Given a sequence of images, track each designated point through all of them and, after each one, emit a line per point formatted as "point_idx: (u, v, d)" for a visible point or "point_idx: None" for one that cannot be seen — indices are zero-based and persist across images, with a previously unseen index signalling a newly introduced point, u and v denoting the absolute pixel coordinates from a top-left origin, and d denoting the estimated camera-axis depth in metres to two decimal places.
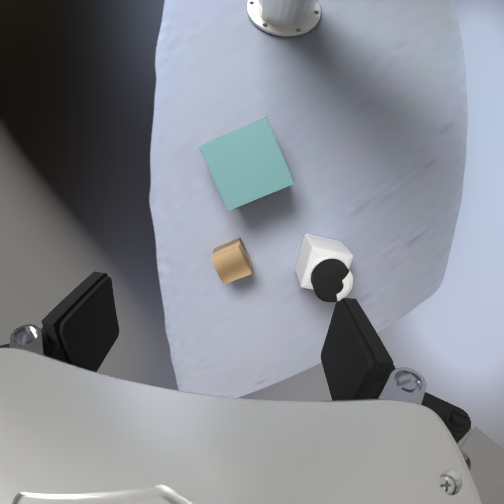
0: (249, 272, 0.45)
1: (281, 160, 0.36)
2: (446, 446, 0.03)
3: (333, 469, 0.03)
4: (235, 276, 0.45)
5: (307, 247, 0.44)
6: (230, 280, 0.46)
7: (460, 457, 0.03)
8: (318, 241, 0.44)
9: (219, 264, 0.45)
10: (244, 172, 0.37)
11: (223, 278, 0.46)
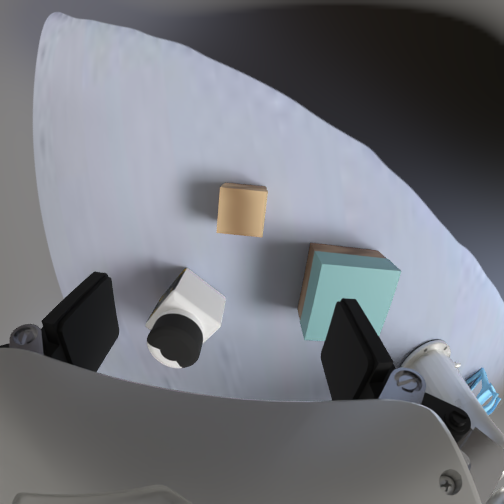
0: (220, 231, 0.30)
1: None
2: (446, 446, 0.03)
3: (333, 469, 0.03)
4: (224, 210, 0.29)
5: (217, 309, 0.34)
6: (221, 200, 0.29)
7: (460, 457, 0.03)
8: None
9: (253, 199, 0.29)
10: None
11: (230, 192, 0.29)
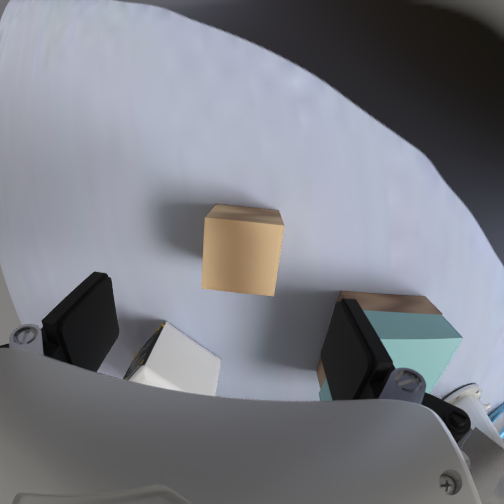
0: (207, 286, 0.19)
1: None
2: (446, 446, 0.03)
3: (333, 469, 0.03)
4: (212, 254, 0.18)
5: (207, 383, 0.23)
6: (207, 238, 0.18)
7: (460, 457, 0.03)
8: None
9: (259, 237, 0.18)
10: None
11: (222, 226, 0.17)
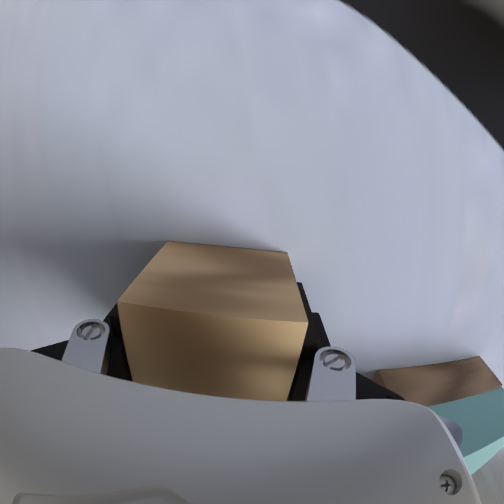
0: None
1: None
2: (446, 446, 0.03)
3: (333, 469, 0.03)
4: (147, 370, 0.07)
5: None
6: (132, 342, 0.07)
7: (460, 457, 0.03)
8: None
9: (248, 347, 0.07)
10: None
11: (156, 321, 0.07)
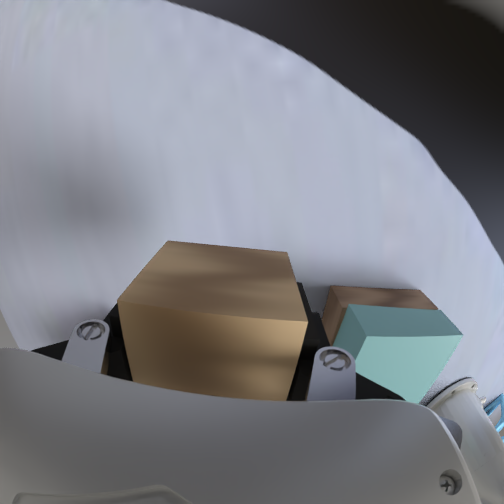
0: None
1: None
2: (446, 446, 0.03)
3: (333, 469, 0.03)
4: (147, 369, 0.07)
5: None
6: (132, 341, 0.07)
7: (460, 457, 0.03)
8: None
9: (248, 346, 0.07)
10: (390, 379, 0.18)
11: (156, 321, 0.07)
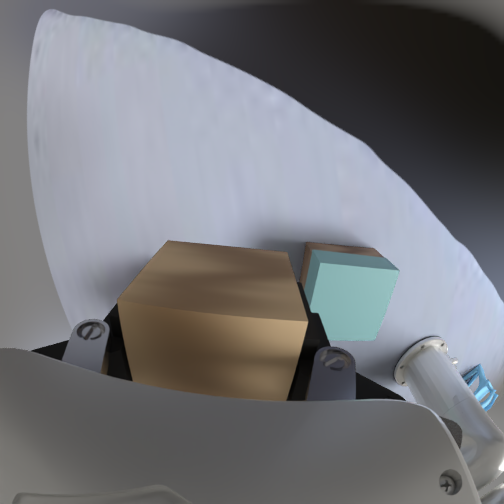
0: None
1: (331, 337, 0.32)
2: (446, 446, 0.03)
3: (333, 469, 0.03)
4: (147, 369, 0.07)
5: None
6: (132, 341, 0.07)
7: (460, 457, 0.03)
8: None
9: (248, 346, 0.07)
10: (346, 301, 0.30)
11: (157, 320, 0.07)
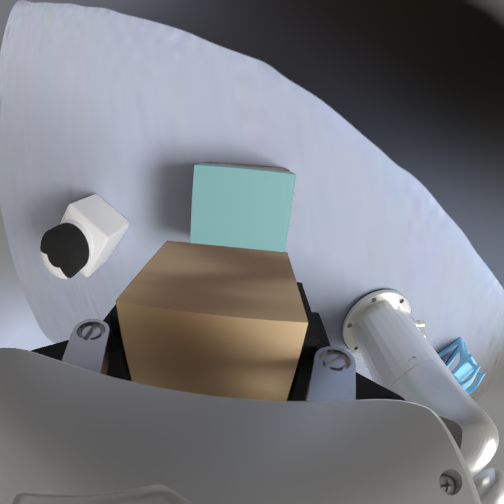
0: None
1: None
2: (446, 446, 0.03)
3: (333, 469, 0.03)
4: (146, 370, 0.07)
5: (111, 226, 0.31)
6: (131, 342, 0.07)
7: (460, 457, 0.03)
8: (114, 240, 0.33)
9: (247, 347, 0.07)
10: (232, 210, 0.28)
11: (155, 321, 0.07)
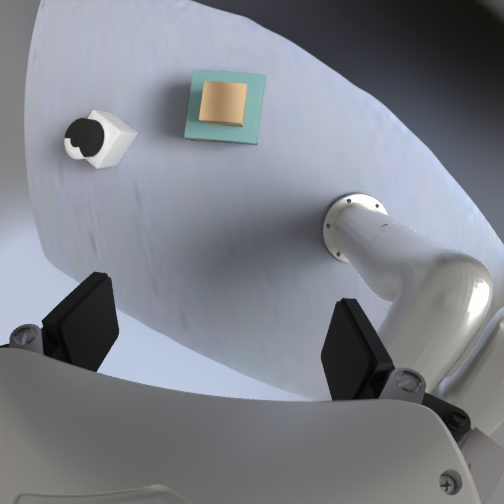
0: (202, 118, 0.29)
1: (210, 136, 0.35)
2: (446, 446, 0.03)
3: (333, 469, 0.03)
4: (206, 99, 0.28)
5: (123, 128, 0.37)
6: (205, 91, 0.28)
7: (460, 457, 0.03)
8: (124, 141, 0.38)
9: (233, 89, 0.28)
10: None
11: (213, 84, 0.28)
